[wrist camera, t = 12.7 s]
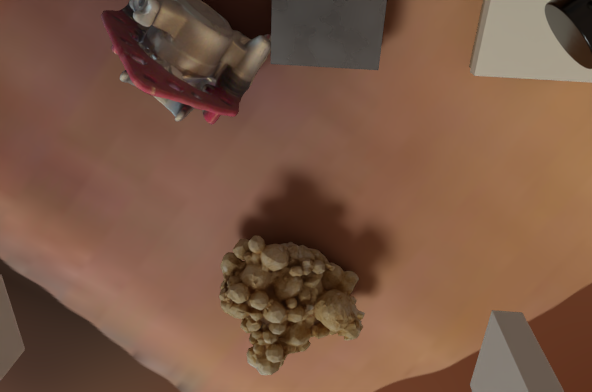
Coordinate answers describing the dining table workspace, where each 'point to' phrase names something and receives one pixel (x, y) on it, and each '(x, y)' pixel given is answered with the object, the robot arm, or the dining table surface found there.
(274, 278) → the mineral formation
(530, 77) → the stand cream
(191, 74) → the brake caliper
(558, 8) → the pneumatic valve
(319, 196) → the dining table surface
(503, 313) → the robot arm
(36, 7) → the dining table surface
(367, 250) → the dining table surface
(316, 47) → the stand slate
